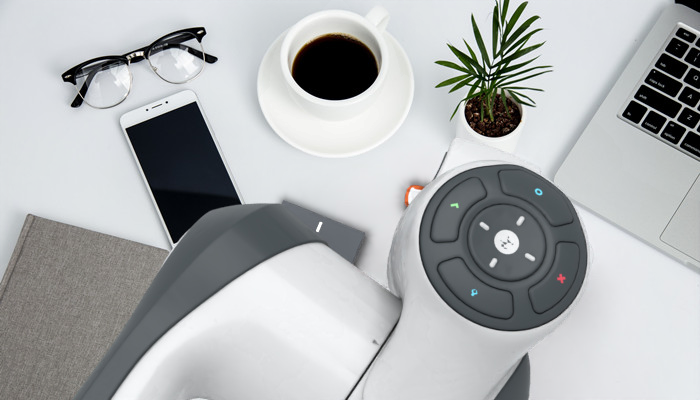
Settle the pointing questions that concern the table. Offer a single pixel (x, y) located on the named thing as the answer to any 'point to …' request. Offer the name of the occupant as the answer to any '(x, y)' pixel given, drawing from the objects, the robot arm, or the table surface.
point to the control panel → (331, 232)
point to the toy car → (412, 193)
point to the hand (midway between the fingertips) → (434, 281)
